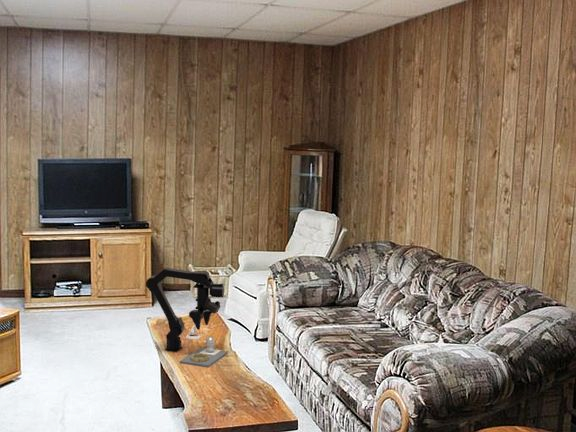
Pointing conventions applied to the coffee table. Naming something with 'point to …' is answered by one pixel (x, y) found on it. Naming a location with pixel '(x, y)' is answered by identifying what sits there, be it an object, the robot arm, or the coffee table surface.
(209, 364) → the board
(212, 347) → the peg
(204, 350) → the mat
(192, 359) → the brass octagonal ring
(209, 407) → the coffee table surface
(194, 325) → the hook
